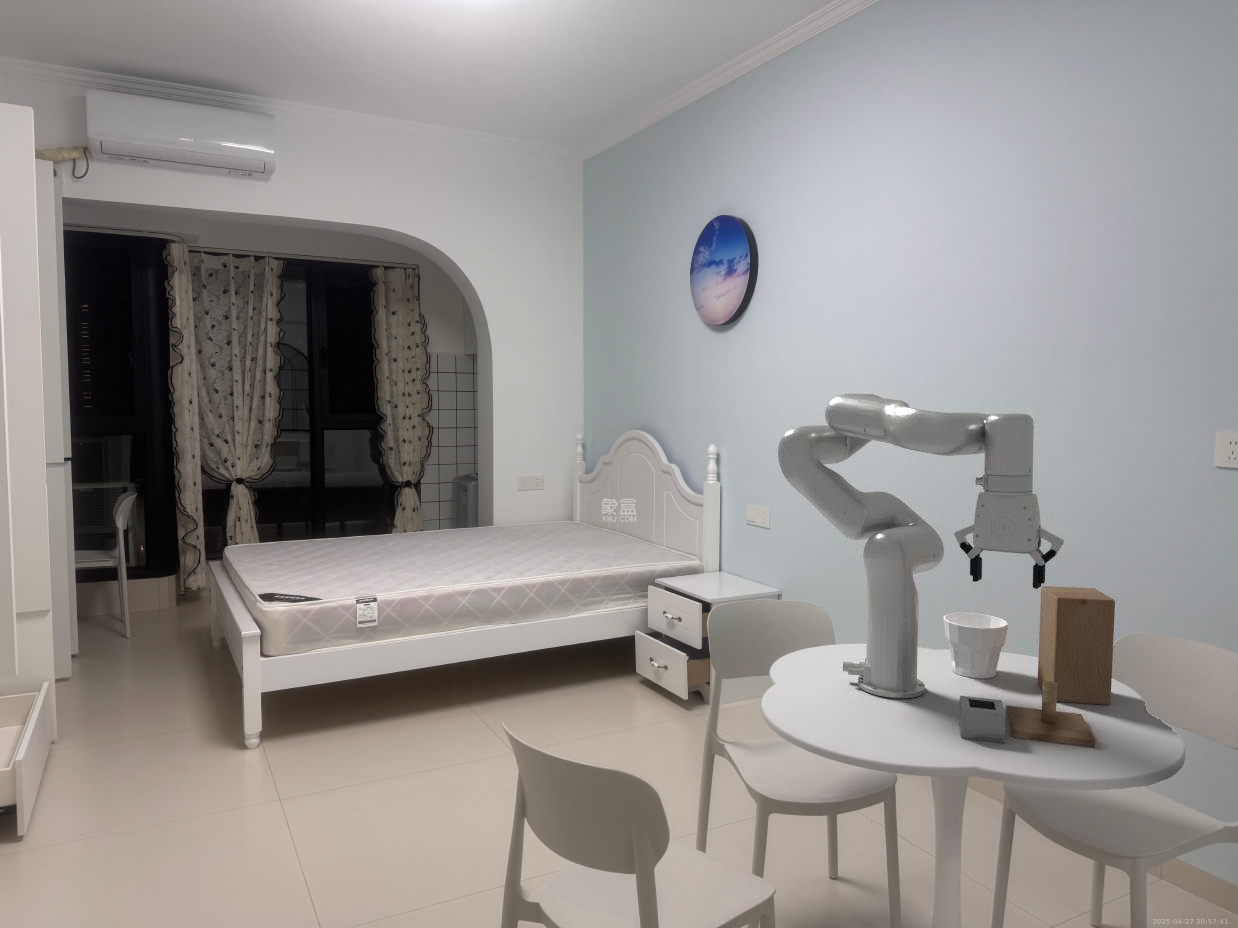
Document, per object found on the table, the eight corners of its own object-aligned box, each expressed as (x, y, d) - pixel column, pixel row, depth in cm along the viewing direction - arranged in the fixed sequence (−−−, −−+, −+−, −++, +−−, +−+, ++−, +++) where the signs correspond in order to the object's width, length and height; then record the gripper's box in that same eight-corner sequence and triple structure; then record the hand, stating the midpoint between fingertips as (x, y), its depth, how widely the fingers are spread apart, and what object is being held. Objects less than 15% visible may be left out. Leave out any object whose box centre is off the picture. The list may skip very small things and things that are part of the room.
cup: (936, 660, 177) (937, 610, 176) (997, 664, 174) (999, 613, 173) (948, 679, 164) (949, 626, 164) (1014, 683, 162) (1016, 629, 161)
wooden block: (1111, 705, 150) (1116, 599, 149) (1052, 702, 152) (1057, 597, 151) (1091, 687, 160) (1095, 587, 158) (1036, 684, 162) (1040, 585, 160)
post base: (1013, 736, 136) (1015, 690, 135) (1006, 711, 147) (1007, 668, 147) (1095, 747, 132) (1097, 699, 131) (1080, 720, 143) (1082, 676, 143)
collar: (961, 737, 136) (962, 708, 135) (959, 723, 142) (959, 695, 142) (1004, 743, 133) (1005, 713, 133) (1000, 728, 140) (1001, 699, 139)
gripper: (949, 484, 142) (948, 581, 143) (1059, 489, 131) (1057, 594, 132) (962, 481, 148) (961, 574, 149) (1069, 486, 137) (1067, 586, 138)
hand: (1006, 583), depth 140 cm, fingers open, 9 cm apart
